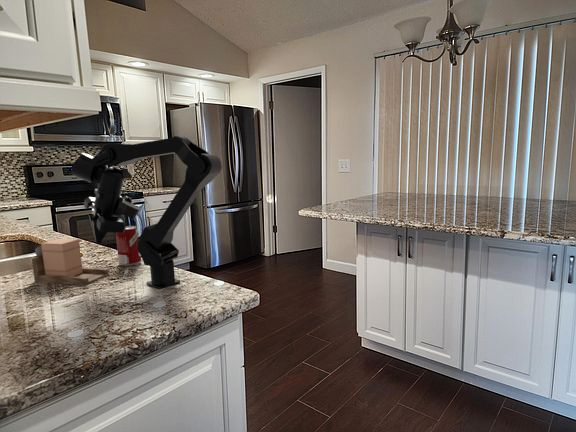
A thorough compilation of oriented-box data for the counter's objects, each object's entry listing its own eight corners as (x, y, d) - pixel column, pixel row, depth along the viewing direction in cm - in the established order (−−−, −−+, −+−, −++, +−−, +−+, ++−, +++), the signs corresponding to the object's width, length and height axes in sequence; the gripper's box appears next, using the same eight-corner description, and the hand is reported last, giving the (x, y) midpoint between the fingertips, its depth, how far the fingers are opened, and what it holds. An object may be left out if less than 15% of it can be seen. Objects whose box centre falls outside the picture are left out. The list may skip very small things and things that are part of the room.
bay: (109, 274, 110) (105, 242, 109) (86, 285, 102) (82, 250, 100) (58, 271, 114) (55, 241, 113) (32, 281, 106) (28, 248, 104)
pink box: (83, 272, 110) (79, 239, 109) (66, 279, 105) (62, 244, 103) (62, 271, 112) (58, 238, 111) (45, 277, 106) (40, 243, 105)
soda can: (126, 268, 116) (122, 230, 114) (114, 265, 120) (111, 228, 118) (145, 263, 122) (142, 226, 120) (134, 260, 126) (131, 224, 124)
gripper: (151, 205, 99) (138, 258, 103) (129, 182, 112) (118, 230, 116) (106, 200, 92) (94, 258, 95) (88, 177, 105) (78, 228, 108)
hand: (98, 242), depth 104 cm, fingers closed
